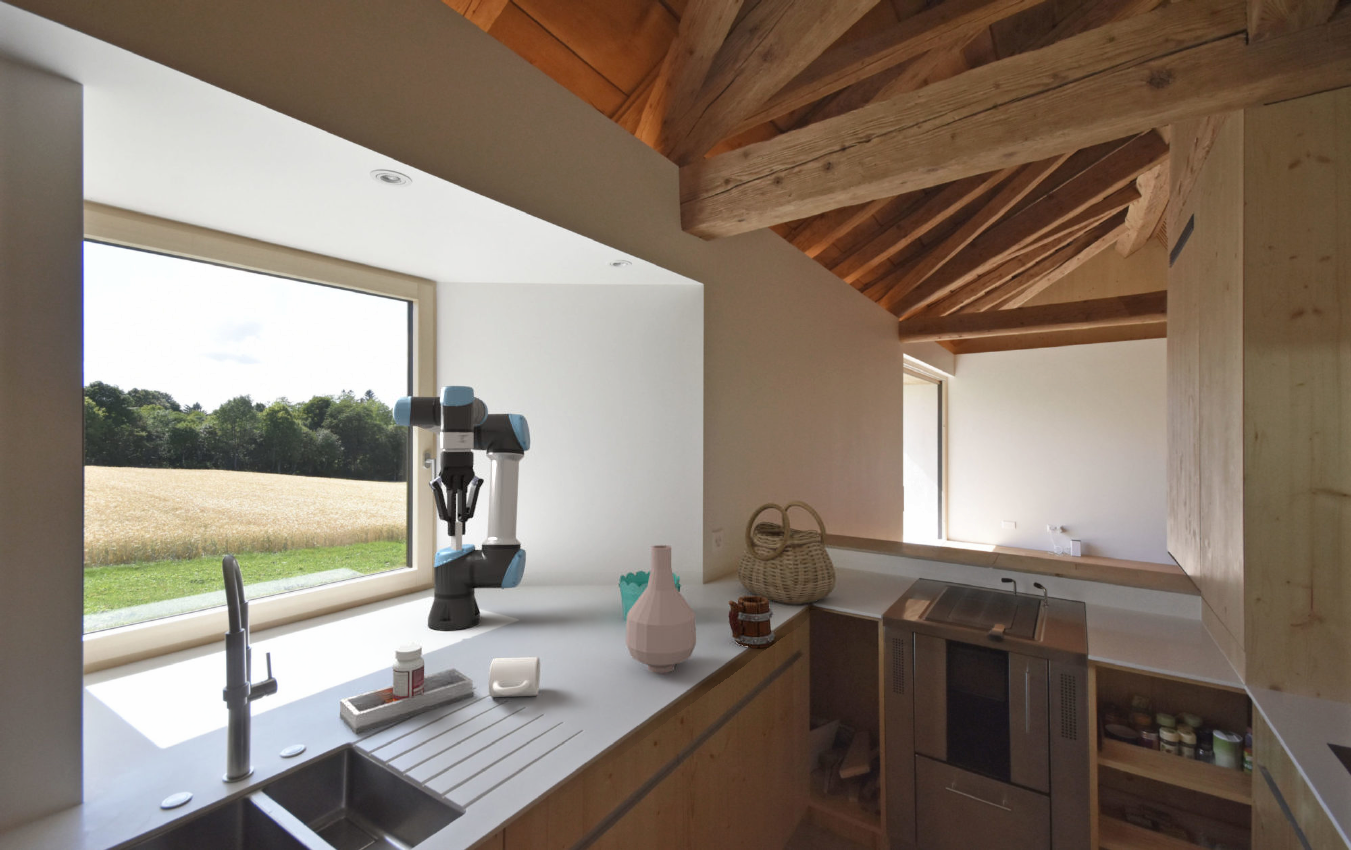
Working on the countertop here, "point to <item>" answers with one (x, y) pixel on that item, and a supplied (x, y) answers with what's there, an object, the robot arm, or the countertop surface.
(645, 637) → the vase
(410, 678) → the pill bottle
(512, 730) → the countertop surface
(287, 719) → the countertop surface
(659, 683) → the countertop surface
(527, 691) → the mug
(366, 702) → the tray
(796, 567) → the basket
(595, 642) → the countertop surface
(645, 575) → the bucket
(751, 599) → the mug
